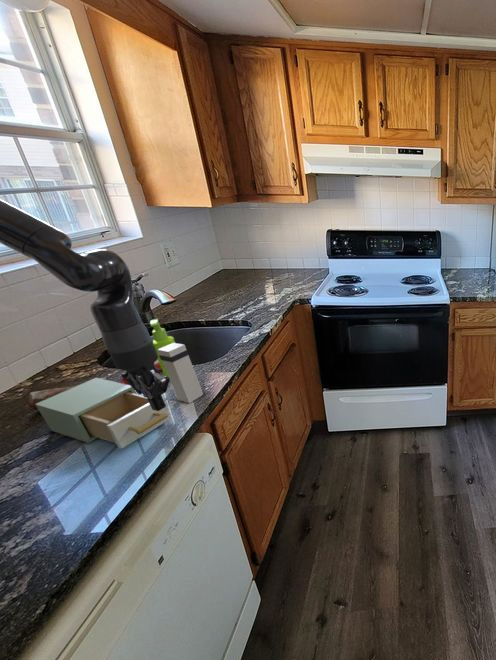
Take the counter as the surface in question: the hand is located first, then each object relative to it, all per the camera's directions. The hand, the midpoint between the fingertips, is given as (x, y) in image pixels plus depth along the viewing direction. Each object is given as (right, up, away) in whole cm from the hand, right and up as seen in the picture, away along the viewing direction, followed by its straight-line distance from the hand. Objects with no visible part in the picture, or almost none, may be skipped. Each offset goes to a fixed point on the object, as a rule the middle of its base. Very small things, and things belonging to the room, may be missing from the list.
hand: (159, 408), depth 87 cm
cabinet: (-27, -6, +13) cm, 31 cm away
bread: (-42, -2, +23) cm, 48 cm away
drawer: (-13, -7, +8) cm, 17 cm away
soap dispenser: (-22, +4, +35) cm, 41 cm away
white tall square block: (-8, -1, +22) cm, 24 cm away
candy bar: (-32, +4, +36) cm, 48 cm away
